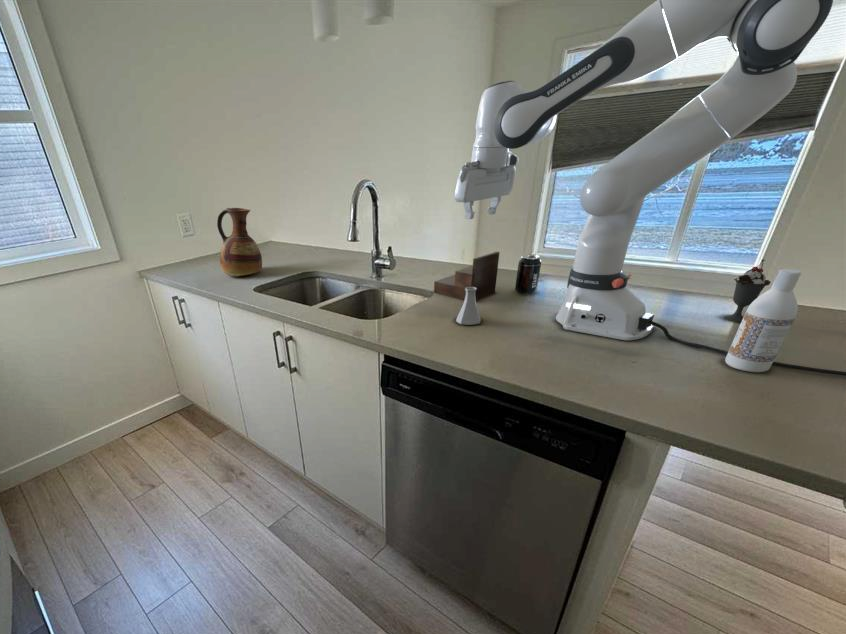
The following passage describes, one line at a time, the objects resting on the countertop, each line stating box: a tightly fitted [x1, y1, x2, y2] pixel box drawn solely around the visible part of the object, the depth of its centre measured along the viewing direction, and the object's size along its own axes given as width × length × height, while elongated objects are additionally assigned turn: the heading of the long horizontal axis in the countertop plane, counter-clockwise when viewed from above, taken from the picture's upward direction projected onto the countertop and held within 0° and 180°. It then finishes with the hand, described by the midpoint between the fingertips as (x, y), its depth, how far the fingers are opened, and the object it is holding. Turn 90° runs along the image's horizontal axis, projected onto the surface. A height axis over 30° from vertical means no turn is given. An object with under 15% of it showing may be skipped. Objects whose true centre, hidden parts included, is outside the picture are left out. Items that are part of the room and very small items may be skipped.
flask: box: [455, 287, 482, 326], centre depth 117 cm, size 7×7×10 cm
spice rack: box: [433, 251, 500, 301], centre depth 139 cm, size 17×12×14 cm
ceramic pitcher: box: [216, 207, 263, 277], centre depth 188 cm, size 20×20×30 cm
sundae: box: [722, 259, 771, 323], centre depth 101 cm, size 7×7×15 cm
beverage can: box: [514, 254, 542, 295], centre depth 134 cm, size 7×7×12 cm
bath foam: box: [724, 268, 802, 373], centre depth 80 cm, size 7×7×20 cm
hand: (480, 216), depth 112 cm, fingers open, 8 cm apart
